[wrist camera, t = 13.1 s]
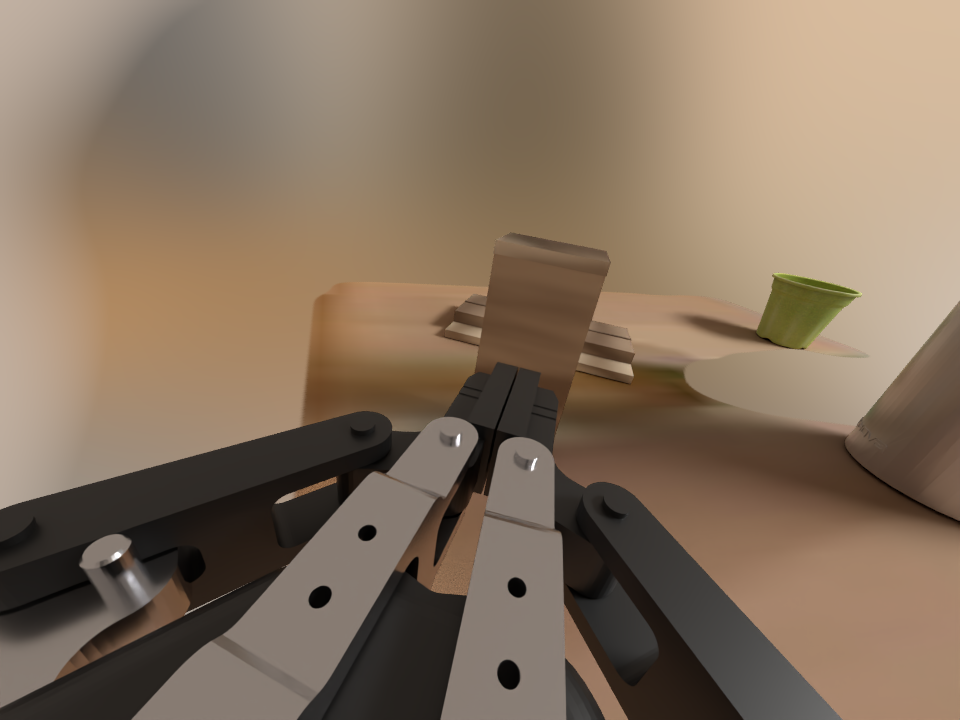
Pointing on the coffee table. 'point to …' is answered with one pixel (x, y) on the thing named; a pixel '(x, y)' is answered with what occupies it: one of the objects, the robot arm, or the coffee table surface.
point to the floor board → (600, 354)
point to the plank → (540, 308)
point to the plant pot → (801, 309)
